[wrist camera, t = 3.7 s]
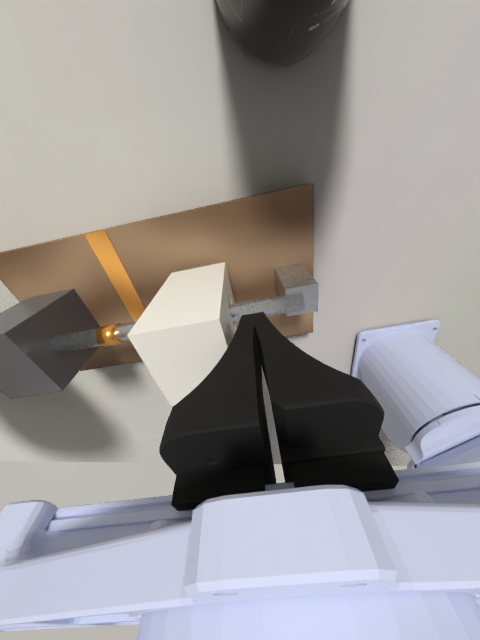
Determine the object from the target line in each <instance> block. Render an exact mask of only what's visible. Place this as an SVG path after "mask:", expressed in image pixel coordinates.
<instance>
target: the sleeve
mask: <svg viewBox="0 0 480 640" xmlns="http://www.w3.org/2000/svg"><path fill="white" fill-rule="evenodd" d="M229 304H235V302H234V298H233V293H232V289H231V285H230V280H229V276H228V272H227V268H226V263H225V262H223V263H218V264H213V265H208V266H203V267H198V268H193V269H188V270H183V271H178V272H173V273H171V274H170V276H169V277H168V278H167V280H166V281H165V283H164V284H163V286H162V287H161V288H160V290H159V291H158V293H157V294H156V295H155V297H154V298H153V300H152V301H151V302H150V304H149V305H148V307H147V308H146V309H145V311H144V312H143V314H142V315H141V317H140V318H139V319H138V321H137V322H136V324H135V325H134V326H133V328H132V329H131V331H130V332H129V333H128V335H127V336H128V338H129V339H130V341H131V343H132V344H133V346H134V347H135V349H136V351H137V352H138V354H139V355H140V357H141V359H142V360H143V362H144V364H145V365H146V367H147V368H148V370H149V372H150V373H151V375H152V376H153V378H154V380H155V381H156V383H157V384H158V386H159V388H160V389H161V391H162V392H163V394H164V396H165V397H166V399H167V400H168V402H169V404H170V405H171V406H173V405H176V404H177V403H178V402H180V401H181V400H182V399H183V398H184V397H185V396H187V395H188V394H189V393H190V392H191V391H192V390H194V389H195V388H196V387H197V386H198V385H199V384H200V383H201V382H202V381H203V380H204V379H205V378H206V376H207V375H208V374H209V373H210V372H211V371H212V369H213V368H214V367H215V366H216V364H217V363H218V362H219V360H220V359H221V357H222V356H223V354H224V353H225V351H226V350H227V348H228V346H229V344H230V342H231V341H232V339H233V336H234V334H235V332H236V330H237V327H238V325H239V321H238V322H232V318H231V314H230V311H229Z"/></svg>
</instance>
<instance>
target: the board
mask: <svg viewBox="0 0 480 640" xmlns="http://www.w3.org/2000/svg"><path fill="white" fill-rule="evenodd" d="M313 223H314V184H303V185H299V186H294V187H290V188H285V189H281V190H276V191H272V192H267V193H263V194H259V195H254V196H250V197H245V198H241V199H236V200H232V201H227V202H223V203H218V204H214V205H209V206H205V207H200V208H196V209H192V210H187V211H183V212H178V213H174V214H169V215H165V216H160V217H156V218H151V219H147V220H142V221H138V222H133V223H129V224H125V225H120V226H116V227H111V228H107V229H102V230H98V231H93V232H89V233H84V234H80V235H75V236H71V237H67V238H62V239H58V240H53V241H49V242H44V243H40V244H35V245H31V246H26V247H22V248H17V249H13V250H8V251H4V252H0V280H1V281H2V282H3V283H4V285H5V286H6V287H7V288H8V289H9V290H10V291H11V293H12V294H13V295H14V296H15V297H16V298H17V299H18V300H19V302H22V301H24V300H25V299H27V298H29V297H34V296H39V295H44V294H49V293H54V292H59V291H64V290H69V289H75V291H76V292H77V294H78V295H79V297H80V298H81V300H82V301H83V302H84V304H85V305H86V307H87V308H88V310H89V311H90V313H91V314H92V315H93V317H94V318H95V320H96V321H97V323H98V324H99V326H100V327H101V326H106V325H112V324H117V323H120V324H125V323H131V322H136V321H138V319H139V318H140V317H141V315H142V314H143V312H144V311H145V309H146V308H147V307H148V305H149V304H150V302H151V301H152V300H153V298H154V297H155V295H156V294H157V293H158V291H159V290H160V288H161V287H162V286H163V284H164V283H165V281H166V280H167V278H168V277H169V276H170V274H171V273H173V272H178V271H183V270H188V269H193V268H198V267H203V266H208V265H213V264H218V263H223V262H225V263H226V268H227V272H228V276H229V280H230V285H231V289H232V293H233V298H234V302H235V303H240V302H246V301H251V300H257V299H262V298H267V297H273V296H278V293H277V288H276V278H275V269H274V268H276V267H282V266H287V265H292V264H297V263H301V264H302V265H303V267H304V268H305V269H306V270H307V271H308V272H309V273H310V275H311V276H312V277H313ZM267 317H268V319H269V320H270V321H271V323H272V324H273V325H274V326H275V327H276V328H277V329H278V330H279V332H280V333H281V334H283V335H284V336H285V337H287V336H293V335H299V334H305V333H311V332H313V312H310V313H304V314H299V315H293V316H287V314H286V313H284V314H278V315H272V316H267ZM239 322H240V321H239ZM137 361H143V360H142V359H141V357H140V355H139V354H138V352H137V351H136V349H135V347H134V346H133V344H132V343H131V341H125V342H124V343H121V344H116V345H110V346H99V348H98V349H97V350H96V351H95V352H94V354H93V355H92V356H91V357H90V358H89V360H88V361H87V362H86V363H85V364H84V366H83V367H82V368H81V369H80V371H83V370H89V369H95V368H101V367H107V366H113V365H119V364H125V363H131V362H137Z"/></svg>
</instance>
